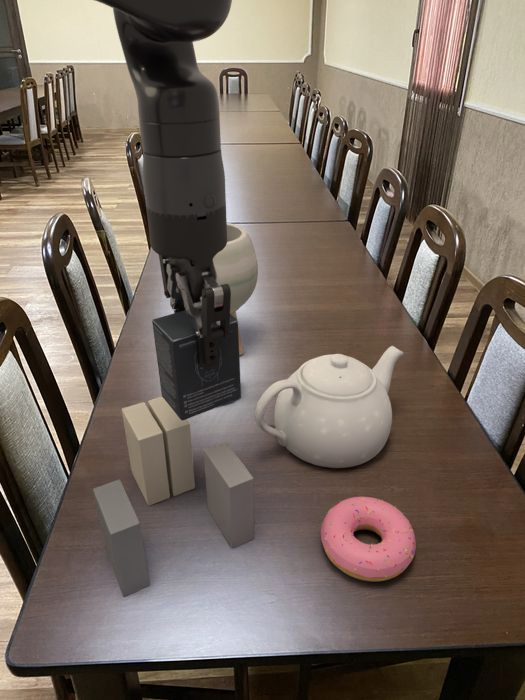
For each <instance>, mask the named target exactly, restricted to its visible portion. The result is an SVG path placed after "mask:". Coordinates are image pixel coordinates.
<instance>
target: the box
mask: <svg viewBox="0 0 525 700" xmlns="http://www.w3.org/2000/svg"><path fill="white" fill-rule="evenodd" d="M198 307H201V306H198ZM195 308H197V307H195ZM200 318H201V323H202V315H201V317H200ZM151 322H152V329H153V330H152V331H153V337H154V344H155V345H154V346H155V355H156V360H157V368H158V369H157V370H158V376H159V383H160V391H161V397H163V398H164V399H165V401H166V402H167V403H168V404H169V406H170V407H171V408H172V409H173V411H174V412H175V413H176V414H177V416H178V417H179V418H180V419H181V420H182V421H183V420H186V419H187V420H188V419H191V418H194V417H196V416H199V415H201V414H204V413H206V412H209V411H211V410H214V409H217V408H219V407H221V406H224V405H227V404H230V403H232V402H234V401H235V402H236V401H237V400H240V399H241V398H242V386H241V383H242V382H241V361H240V360H241V359H240V355H239V336H238V326H239V320H238V318H237V319H236V318H235V317H233V316H232V315H231V314H230V326H229V336H227V337H222V338H218V339H219V358H220V361H219V363H218V364H217V365H214V366H210V367H207V368H202V367H201V366H200V365H199V364H198V356H197V344H196V334H195V328H194V323H193V319H192V317H189V316H188V315H187V314H186V310H184V311H181V312H177V313H174V312H173V313H170V314H167V315H163V316H161V317H160V316H159V317H157V318H153V319H151ZM229 402H230V403H229Z"/></svg>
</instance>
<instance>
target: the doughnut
mask: <svg viewBox="0 0 525 700" xmlns="http://www.w3.org/2000/svg"><path fill="white" fill-rule="evenodd" d="M361 530H368V531H371V532H374V533H376V534H377V535H378V536H379V537H380V538H381V541H380V542H378V543H375V542H372V543H371V544H370V543H368V542H367V543H365V542H363V540H361V541H360V539H359V538H358V539H357V537H355V534H354V533H355V532H357V531H361ZM416 536H417V534H415V533H414V529H413V526H412V525H411V523H410V519H408V518H407V517H406V516H405V513H404V512H402V511H400V510H399V509H398V508H397V506H396V505H395V506H394V505H393V504H391V503H389V502H387V501H386V499H384V500H382V499H379V498H377V497H371V496H363V495H361V496H358V495H357V494H356V496H353V497H349V498H348V497H347V498H345V499H344V500H341V501H338V502H336V504H334V506H332V507H331V508H328V511H327V513H326V515H324V518H323V521H322V523H321V527H320V539H321V543H322V547H323V549H324V552H325V554H326V555H327V557H328V559H329V560H330V562H331V563H332V564H333V565H334V566H335V567H336V568H337V569H338V570H340V571H341V572H343V573H344V574H346V575H347V576H349V577H352V578H354V579H357V580H360V581H363V582H364V581H365V582H373V583H374V582H384V581H388V580H392V579H394V578H396V577H398V576H400V575H401V574H402V573H403V572H404V571H405V570H406V569H408V566H409V565H410V564H411V563H412V561H413V559H414V558H415V555H416V549H417V542H416Z"/></svg>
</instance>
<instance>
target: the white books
mask: <svg viewBox="0 0 525 700" xmlns="http://www.w3.org/2000/svg"><path fill="white" fill-rule="evenodd" d="M147 404H148V405H147ZM147 404H146V403H145V402H144V401H143V402H139V403H136V404H132V405H129V406H125V407H122V408H121V415H122V422H123V425H124V426H123V427H124V433H125V439H126V445H127V446H126V447H127V451H128V458H129V463H130V471H131V473H132V476H133V478H134V480H135V482H136V484H137V486H138V488H139V490H140V492H141V494H142V497H143V498H144V501H145V502H146V504H147V506H148V507H150V506H152V505H154V504H158V503H160V502H162V501H165V500H169V499H170V498H171V494H172V496H173V497H176V496H178V495H182V494H183V493H186V492H189V491H191V490H194V489H196V484H195V470H194V460H193V446H192V434H191V433H192V432H191V424H190V422H189V420H188V419H186V420H183V421H182V420H181V419H180V418H179V417H178V416H177V414H176V413H175V412H174V411H173V409H172V408H171V407H170V406H169V404H168V403H167V402H166V401H165V399H164V398H163V397H162V396H159V397H155V398H153V399H149V400H147ZM170 492H171V494H170Z"/></svg>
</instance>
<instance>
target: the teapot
mask: <svg viewBox="0 0 525 700" xmlns="http://www.w3.org/2000/svg"><path fill="white" fill-rule="evenodd" d="M404 354H405V353H404V352H403V351H402V350H400V349H399V348H397V347H396V346H394V345H391V346H389V347H388V348H387V349H386V350H385V351H384V352H383V354H382V355H381V357H380V358H379V360H378V361H377V363H376V364H375V365H374V366H373V368H372V369H371V368H370V367H369V366H368V365H366V364H365V363H363V362H362V361H360V360H358V359H356V358H354V357H352V356H348V355H344V353H343V354H342V353H333V354H325V355H320V356H317V357H313V358H312V359H309V360H307V361H305V362H304V363H303V364H301V365H300V367H299V368H298V369H296V370H295V371H294V372H293V373H292V374H291V375H289V376H288V378H286V379H281V380H278V381H276V382H274V383H272V384H271V385H270V386H269V387H268V388H267V389H265V391H264V392H263V393H262V394H261V397H260V398H259V400H258V402H257V404H256V407H255V411H254V420H255V422H256V424H257V426H258V427H259V428H260V430H261V431H263V432H264V433H266V434H267V435H269V436H272V437H274V438H276V439H277V442H278V444H279V445H280V446H281V447H285V448H286V450H288V451H289V452H290V453H291V454H292V455H293V456H296V457H297V458H298V459H300V460H302V461H304V462H306V463H309V464H311V465H315V466H318V467H322V468H329V469H330V468H331V469H346V468H351V467H356V466H359V465H362V464H364V463H367V462H368V461H370V460H372V459H373V458H374V457H376V456H377V455H378V454H379V453H380V452H381V451H382V449H383V448H384V447H385V445H386V443H387V442H388V439H389V436H390V434H391V429H392V426H393V425H392V424H393V409H392V403H391V400H390V397H389V391H390V387H391V382H392V377H393V372H394V369H395V365H396V363H397V362H398V360H399V359H400V358H402V356H404ZM276 396H277V397H276ZM275 397H276V401H275V406H274V412H273V413H274V414H273V415H274V416H273V417H274V418H273V419H274V425H275V426H274V427H272V426H270V425H268V424H267V423H266V422H265V419H264V417H265V413H266V410H267V408H268V406H269V404H270V403H271V402H272V400H273V399H274V398H275Z"/></svg>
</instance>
